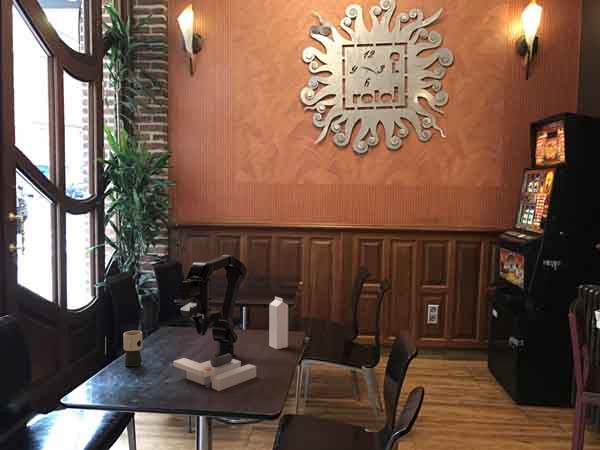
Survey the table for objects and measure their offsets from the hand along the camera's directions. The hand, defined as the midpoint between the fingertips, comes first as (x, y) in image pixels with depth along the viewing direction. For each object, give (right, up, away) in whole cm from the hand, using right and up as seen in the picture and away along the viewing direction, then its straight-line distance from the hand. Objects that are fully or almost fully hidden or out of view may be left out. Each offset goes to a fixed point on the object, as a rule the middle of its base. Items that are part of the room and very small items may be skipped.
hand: (201, 334), depth 204 cm
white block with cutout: (+9, -14, -10) cm, 19 cm away
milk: (+29, -11, +29) cm, 42 cm away
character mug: (-27, -13, +3) cm, 30 cm away
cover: (0, -10, -14) cm, 17 cm away
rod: (+8, -9, -6) cm, 13 cm away
